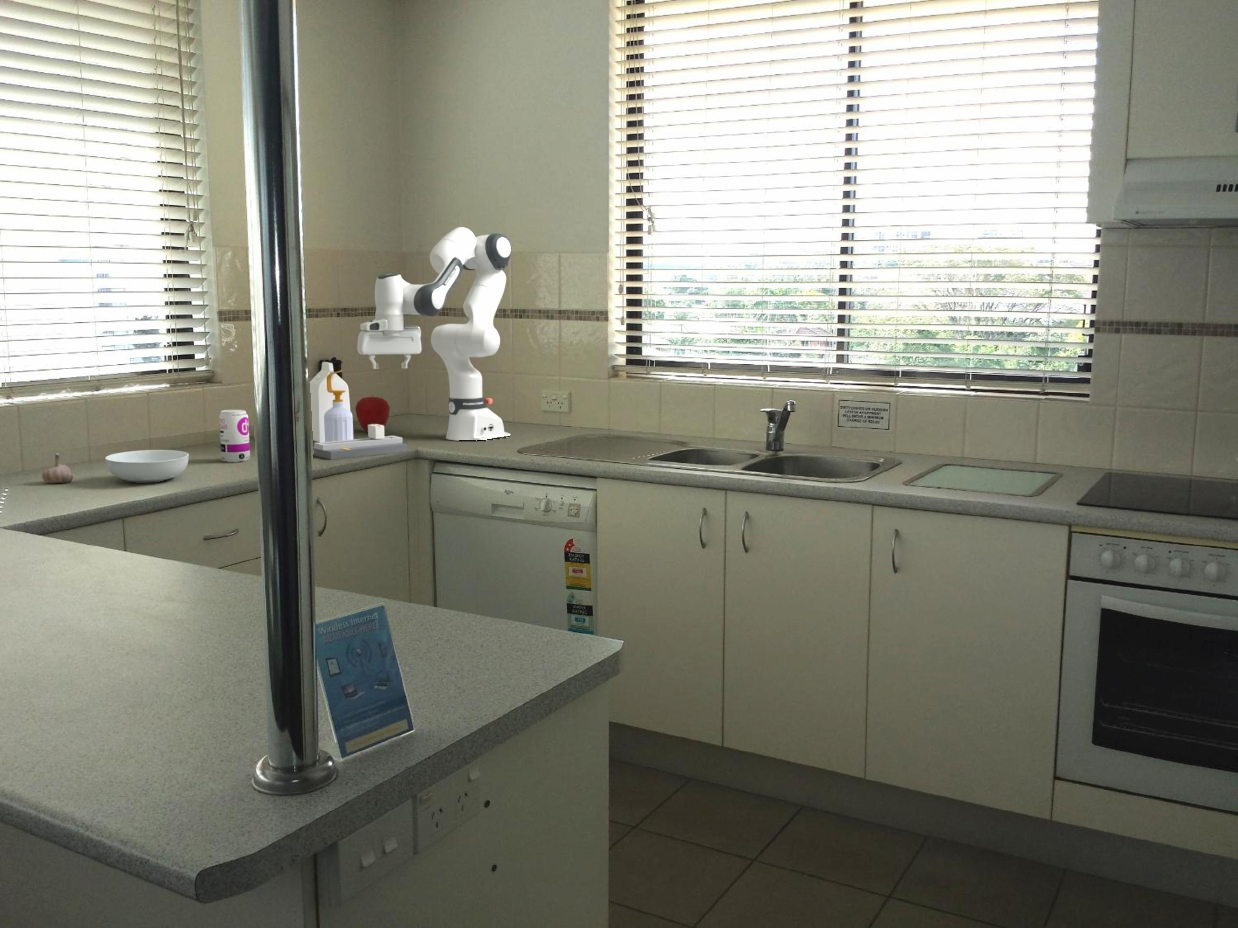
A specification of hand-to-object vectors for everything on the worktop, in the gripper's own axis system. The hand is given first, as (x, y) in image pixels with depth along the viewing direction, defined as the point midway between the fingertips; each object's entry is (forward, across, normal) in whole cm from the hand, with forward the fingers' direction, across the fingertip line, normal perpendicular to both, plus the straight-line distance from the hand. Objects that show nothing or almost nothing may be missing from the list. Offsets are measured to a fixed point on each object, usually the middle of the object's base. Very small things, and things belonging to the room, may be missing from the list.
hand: (390, 368), depth 360 cm
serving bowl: (+28, +76, +24) cm, 84 cm away
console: (+26, +11, +3) cm, 29 cm away
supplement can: (+27, +48, +1) cm, 55 cm away
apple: (+25, -8, -43) cm, 50 cm away
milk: (+26, +11, -32) cm, 43 cm away
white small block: (+23, +6, +2) cm, 24 cm away
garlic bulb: (+28, +97, +17) cm, 103 cm away
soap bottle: (+26, +12, -17) cm, 33 cm away
